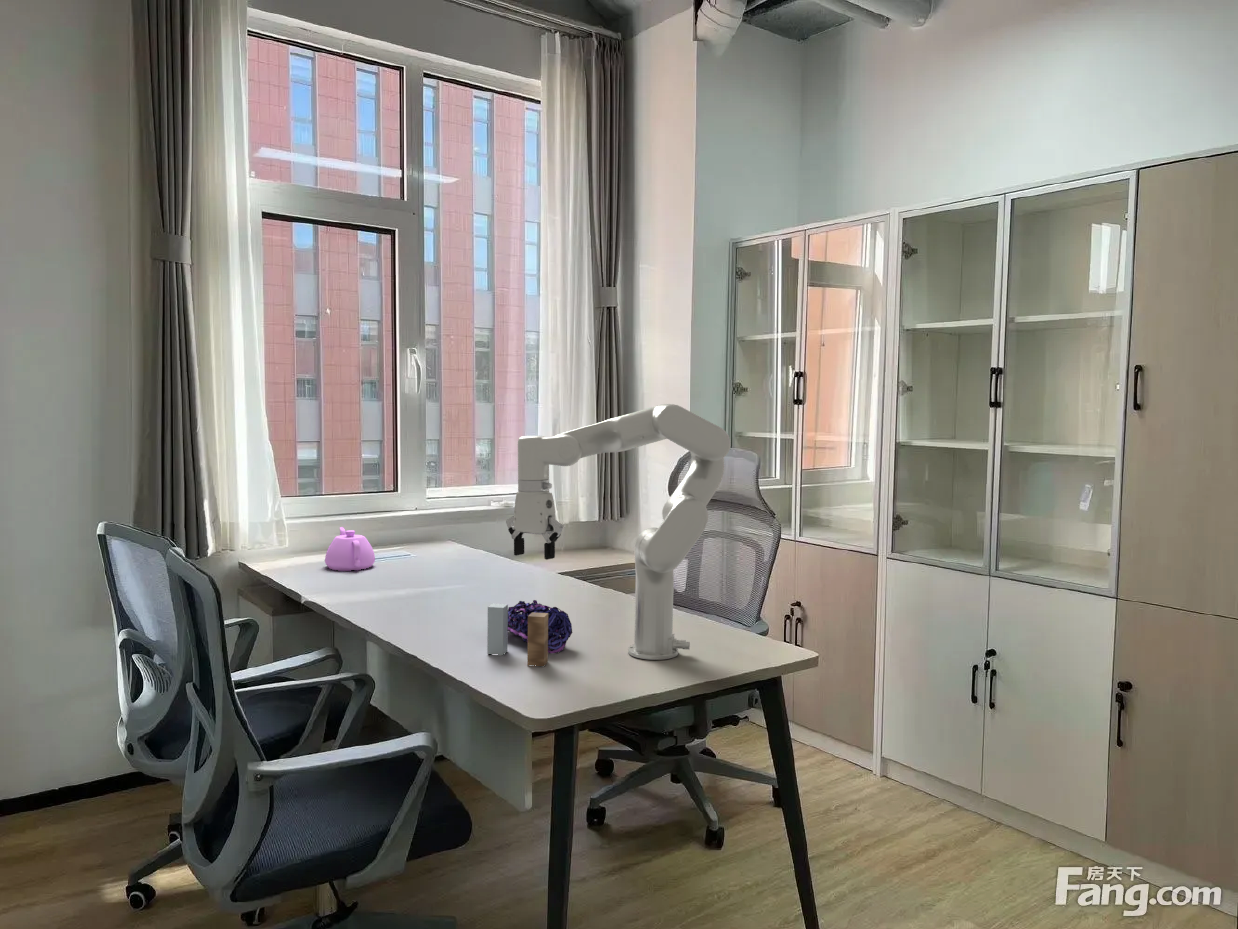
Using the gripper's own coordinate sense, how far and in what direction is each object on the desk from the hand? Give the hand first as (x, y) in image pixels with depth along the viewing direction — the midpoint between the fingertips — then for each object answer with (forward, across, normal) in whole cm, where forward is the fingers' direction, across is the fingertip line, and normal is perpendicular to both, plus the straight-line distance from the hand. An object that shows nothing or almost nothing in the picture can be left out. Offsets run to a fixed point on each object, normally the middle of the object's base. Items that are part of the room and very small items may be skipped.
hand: (534, 556), depth 223 cm
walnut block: (+25, -4, +4) cm, 26 cm away
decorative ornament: (+25, +12, -11) cm, 30 cm away
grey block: (+25, +10, +3) cm, 27 cm away
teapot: (+24, +130, -48) cm, 141 cm away
